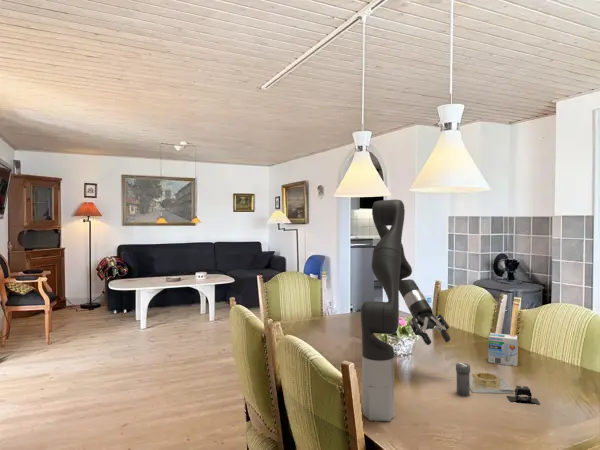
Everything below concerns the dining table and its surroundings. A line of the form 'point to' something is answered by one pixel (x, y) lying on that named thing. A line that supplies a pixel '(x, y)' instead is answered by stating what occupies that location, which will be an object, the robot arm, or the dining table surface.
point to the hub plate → (488, 384)
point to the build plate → (520, 399)
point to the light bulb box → (503, 349)
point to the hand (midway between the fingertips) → (439, 342)
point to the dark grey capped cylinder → (463, 379)
